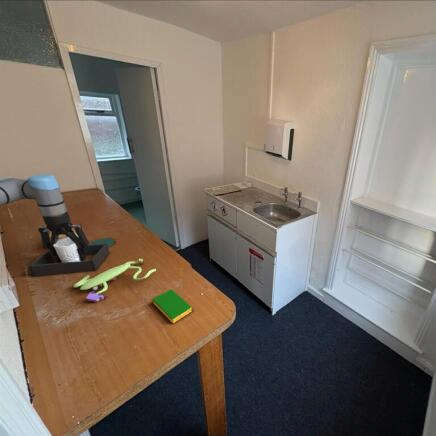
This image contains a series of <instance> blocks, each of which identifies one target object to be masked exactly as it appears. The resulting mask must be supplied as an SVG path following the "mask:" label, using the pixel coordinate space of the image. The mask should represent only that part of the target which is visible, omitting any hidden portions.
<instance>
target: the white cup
mask: <svg viewBox="0 0 436 436" xmlns="http://www.w3.org/2000/svg"><path fill="white" fill-rule="evenodd" d="M53 246H54V248H55V250H56V252H57V254H58V256H59V258H60V260H61V261H62V262H61V263H64V262H76V261H81V259H80V256H79V253H78V250H77V249H78V248H79V247H78V246H77V245H76V244H75V243H74V242H73V241H72V240H71V239H70V238H67V239H63V240H60V241H58V242H57V243H56V244H54V245H53Z"/></svg>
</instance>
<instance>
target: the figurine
mask: <svg viewBox="0 0 436 436" xmlns="http://www.w3.org/2000/svg"><path fill="white" fill-rule="evenodd" d="M139 262H140V263H143V262H144V259H143V258H138V259H137V260H136V261H127V262H124V263H123V264H120V265H117V266H114V267H112V268H109V269H107V270H105V271H103V272H101V273H99V274H97V275H96V276H94V277H91V276H90V274H87V275H86V276H84V277H83V278H82V279H80V280H79V281H78V282H76V283H74V284H73V285H72V287H73V288H74V289H76V288H79V287H80V288H79V290H80V291H85V290H89V289H92V291H91V292H89V293H88V295H87V296H86V300H87V301H88V302H95V303H98V302H99V301H100V300H104V299H105V297H104V295H103V293H104V292H106V291H107V290H108V288H109V286H108V283H107V282H109V281H111V280H114V279H116V278H117V277H118V276H120V275H122V274H123V273H124V272H126V271H127V270H137V271H136V272H135V273H134V274H133V276H132V280H133V281H141V280H146V279H148V277H150V275H151V274H152V273H155V272H157V268H153V269H150V270H149V271H148V272H146V273H145V275H144V276H143V277H138V276H139V274H141V273H142V271H143V269H142V268H141V266H136V265H138V264H139ZM99 287H100V288H102V289H101V290H99V291H97V290H98V289H99ZM95 291H96V292H95Z"/></svg>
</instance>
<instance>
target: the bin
mask: <svg viewBox="0 0 436 436" xmlns="http://www.w3.org/2000/svg"><path fill="white" fill-rule="evenodd" d="M85 248H86V253H85V255H86V256H91V255H94V256H93V257H92V258H91V259H90V260H88V259H87V260H84V261H76V262H64V263H62V262H61V263H58V262H55V263H52V262H53V261H54V260H55V259H57V258H56V256H53V254H52V251H51V250H50V249H47V250H46V251H45V252H44V253H43V254H42V255H40V256H39V257H38V258H36V260H34V261H33V262H32V263H30V264H29V265H27V268H28V269H29V272H30V274H31V275H32V277H43V276H53V275H64V274H74V273H75V274H76V273H84V272H94V271H97V270H98V268H99V266H101V264H102V263H103V262H104V260H105V259H106V258H107V257H108V255H109V254H110V253H111V252H110V248H109V247H108V245H107V244H94V245H87V246H86V247H85Z"/></svg>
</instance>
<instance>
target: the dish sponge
mask: <svg viewBox="0 0 436 436" xmlns="http://www.w3.org/2000/svg"><path fill="white" fill-rule="evenodd" d="M152 303H153V305H154V306H155V307H156V308H157V309H158V310H159V311H160V312H161V313H162V315H164V317H166V319H168V320H169V322H170V323H171V324H175V323H177V322H178V321H179V320H182V318H184V317H186V316H188V314H190V313H192V306H191V304H189V303H188V302H187V301H186V300H185V299H184V298H182V296H181V295H179V294H178V293H177V292H176V291H174V290H173V289H168V290H167V291H165V292H163V293H161V294H159V295H157V296H155V297H153V298H152Z"/></svg>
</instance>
